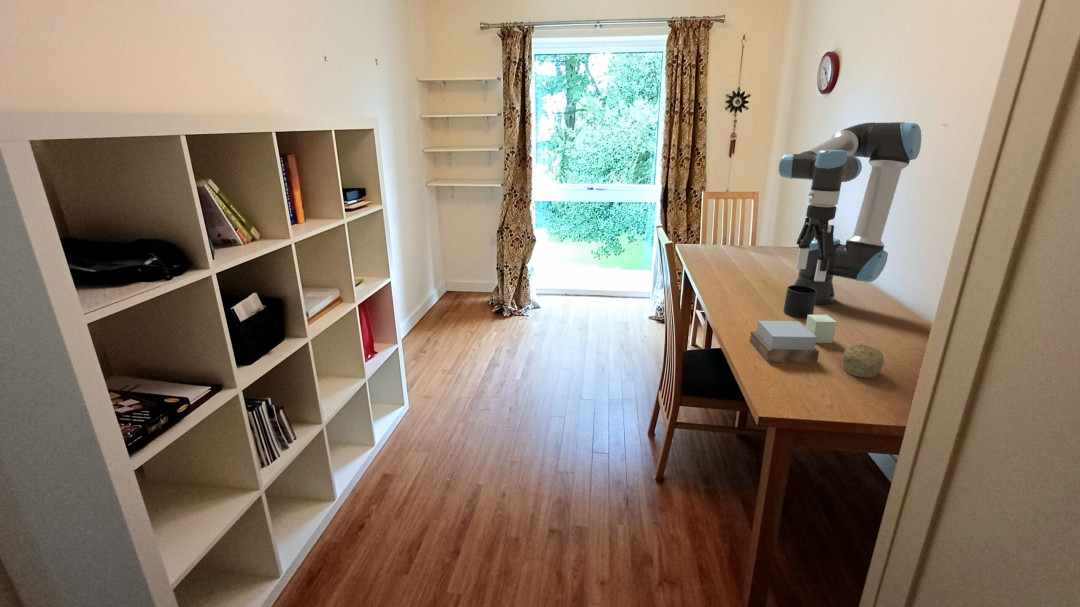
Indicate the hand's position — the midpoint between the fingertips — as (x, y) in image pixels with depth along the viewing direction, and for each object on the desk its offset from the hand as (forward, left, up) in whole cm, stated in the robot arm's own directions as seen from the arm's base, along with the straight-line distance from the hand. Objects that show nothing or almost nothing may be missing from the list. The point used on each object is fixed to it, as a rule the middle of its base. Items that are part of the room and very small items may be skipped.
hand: (809, 274), depth 156 cm
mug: (-9, -21, -20) cm, 30 cm away
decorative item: (-6, +25, -20) cm, 33 cm away
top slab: (+10, +13, -17) cm, 24 cm away
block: (-5, +3, -20) cm, 21 cm away
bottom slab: (+11, +13, -21) cm, 27 cm away
